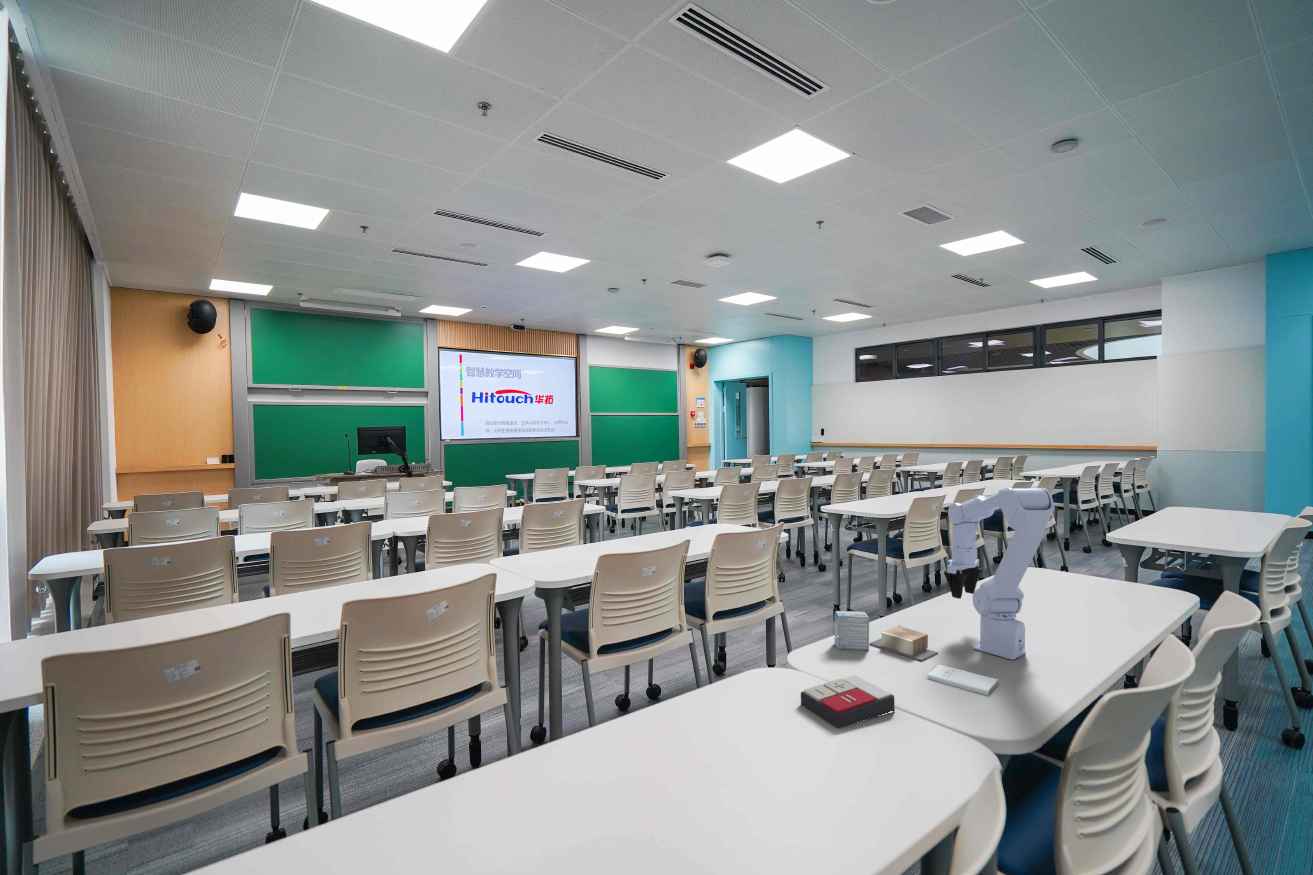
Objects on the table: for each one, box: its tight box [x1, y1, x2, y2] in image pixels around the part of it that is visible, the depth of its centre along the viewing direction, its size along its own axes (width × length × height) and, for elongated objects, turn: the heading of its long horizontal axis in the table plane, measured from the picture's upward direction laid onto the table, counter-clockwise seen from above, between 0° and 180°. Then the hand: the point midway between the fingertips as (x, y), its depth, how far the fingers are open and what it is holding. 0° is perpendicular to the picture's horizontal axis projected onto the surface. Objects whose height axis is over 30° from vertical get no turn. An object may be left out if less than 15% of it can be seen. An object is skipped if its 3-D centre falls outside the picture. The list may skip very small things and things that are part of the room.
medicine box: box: [834, 610, 870, 651], centre depth 153 cm, size 8×4×9 cm, turn 84°
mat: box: [869, 637, 939, 662], centre depth 152 cm, size 14×8×1 cm, turn 38°
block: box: [881, 625, 929, 655], centre depth 152 cm, size 8×4×8 cm
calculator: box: [800, 674, 896, 729], centre depth 120 cm, size 11×4×15 cm
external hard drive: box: [927, 664, 999, 696], centre depth 133 cm, size 2×8×12 cm
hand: (963, 595), depth 165 cm, fingers open, 7 cm apart
